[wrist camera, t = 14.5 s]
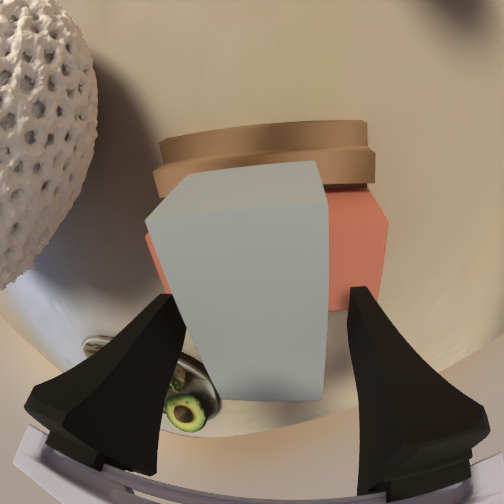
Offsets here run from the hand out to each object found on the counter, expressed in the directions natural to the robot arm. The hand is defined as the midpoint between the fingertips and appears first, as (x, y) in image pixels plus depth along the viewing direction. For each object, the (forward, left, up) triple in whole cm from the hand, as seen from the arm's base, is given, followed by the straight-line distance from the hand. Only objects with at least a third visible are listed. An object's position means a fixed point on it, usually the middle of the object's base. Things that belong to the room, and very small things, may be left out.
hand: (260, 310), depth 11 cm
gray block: (0, 0, -2) cm, 2 cm away
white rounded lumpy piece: (+16, -10, -8) cm, 20 cm away
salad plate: (+16, +20, -8) cm, 27 cm away
